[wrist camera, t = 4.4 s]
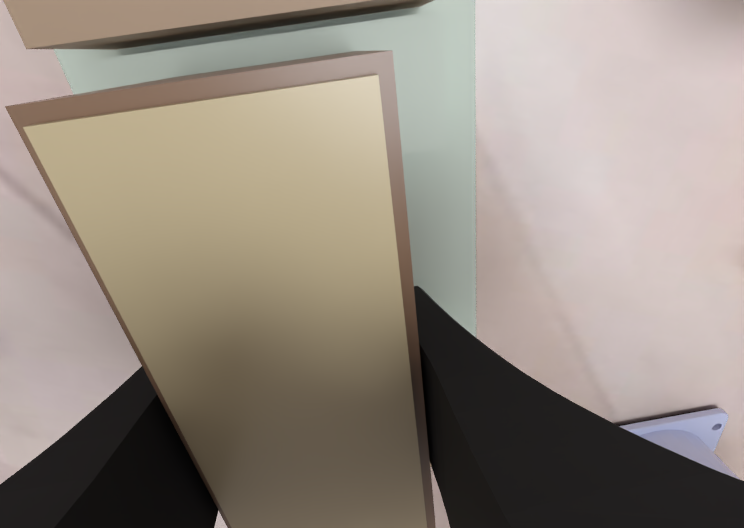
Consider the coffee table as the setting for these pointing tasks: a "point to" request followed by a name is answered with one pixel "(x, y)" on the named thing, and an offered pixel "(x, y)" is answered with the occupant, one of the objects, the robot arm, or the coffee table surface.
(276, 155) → the tan rectangular box
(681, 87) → the coffee table surface
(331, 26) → the display cradle
